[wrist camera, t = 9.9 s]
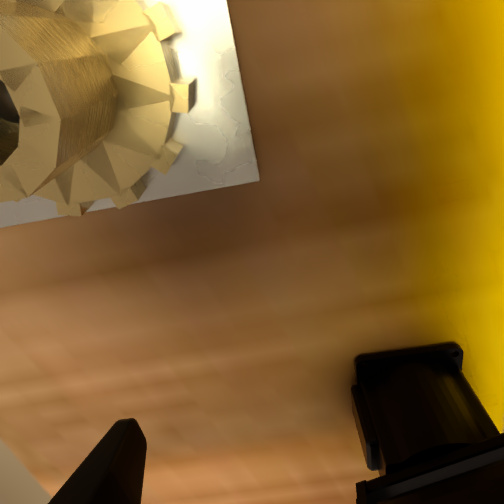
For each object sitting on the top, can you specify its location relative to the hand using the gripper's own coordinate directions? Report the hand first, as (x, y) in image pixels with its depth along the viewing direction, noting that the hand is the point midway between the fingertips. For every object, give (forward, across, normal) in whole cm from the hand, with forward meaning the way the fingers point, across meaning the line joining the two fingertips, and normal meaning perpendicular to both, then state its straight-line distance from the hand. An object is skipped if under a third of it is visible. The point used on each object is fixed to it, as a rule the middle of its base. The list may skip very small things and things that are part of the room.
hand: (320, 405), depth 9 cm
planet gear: (+11, +8, -8) cm, 15 cm away
